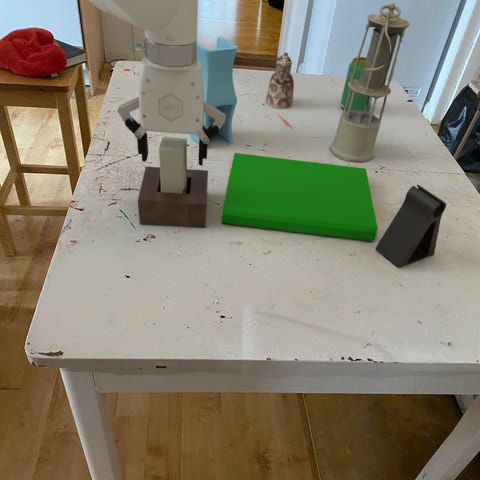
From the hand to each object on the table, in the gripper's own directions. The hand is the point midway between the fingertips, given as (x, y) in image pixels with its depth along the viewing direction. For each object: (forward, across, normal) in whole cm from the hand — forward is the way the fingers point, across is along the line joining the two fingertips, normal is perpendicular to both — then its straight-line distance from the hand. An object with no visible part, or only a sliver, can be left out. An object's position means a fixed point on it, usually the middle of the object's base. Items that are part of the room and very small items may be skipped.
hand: (173, 159), depth 82 cm
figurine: (+10, +24, +54) cm, 60 cm away
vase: (+10, +6, +30) cm, 32 cm away
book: (+10, +24, +5) cm, 27 cm away
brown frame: (+10, 0, 0) cm, 10 cm away
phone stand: (+10, +42, -10) cm, 44 cm away
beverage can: (+9, +45, +54) cm, 71 cm away
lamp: (+10, +39, +27) cm, 49 cm away
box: (+10, 0, 0) cm, 10 cm away
